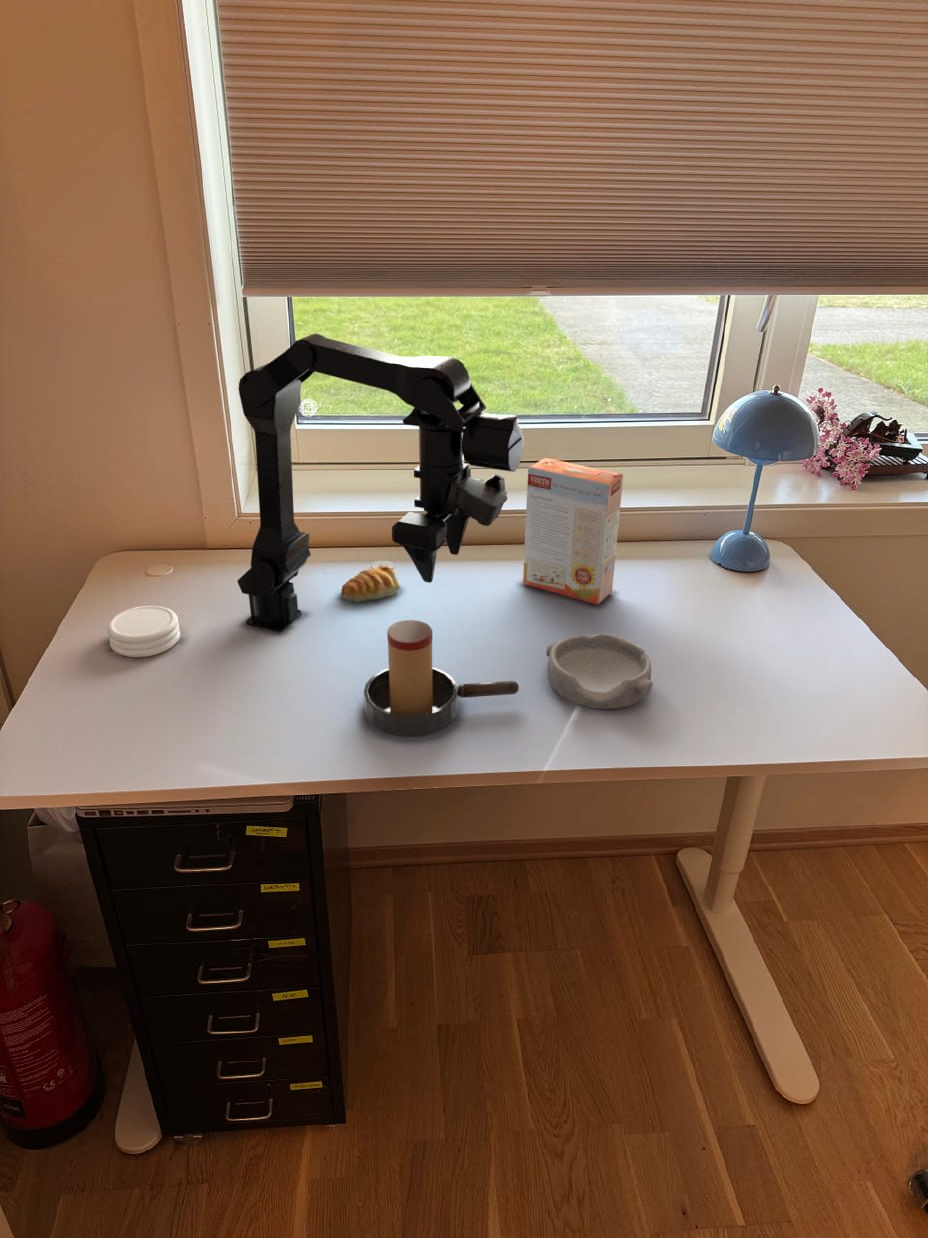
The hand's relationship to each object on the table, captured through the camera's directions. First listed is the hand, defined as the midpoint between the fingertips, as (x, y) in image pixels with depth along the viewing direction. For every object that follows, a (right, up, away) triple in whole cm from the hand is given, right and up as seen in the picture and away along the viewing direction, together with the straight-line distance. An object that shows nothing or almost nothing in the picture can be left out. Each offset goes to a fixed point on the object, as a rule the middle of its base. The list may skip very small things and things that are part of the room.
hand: (441, 567), depth 128 cm
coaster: (-44, -11, +11) cm, 47 cm away
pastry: (-12, -3, +25) cm, 27 cm away
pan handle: (+6, -17, -4) cm, 19 cm away
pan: (-4, -19, -4) cm, 20 cm away
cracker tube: (-4, -19, -5) cm, 20 cm away
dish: (+22, -16, +2) cm, 27 cm away
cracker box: (+20, -2, +27) cm, 33 cm away
